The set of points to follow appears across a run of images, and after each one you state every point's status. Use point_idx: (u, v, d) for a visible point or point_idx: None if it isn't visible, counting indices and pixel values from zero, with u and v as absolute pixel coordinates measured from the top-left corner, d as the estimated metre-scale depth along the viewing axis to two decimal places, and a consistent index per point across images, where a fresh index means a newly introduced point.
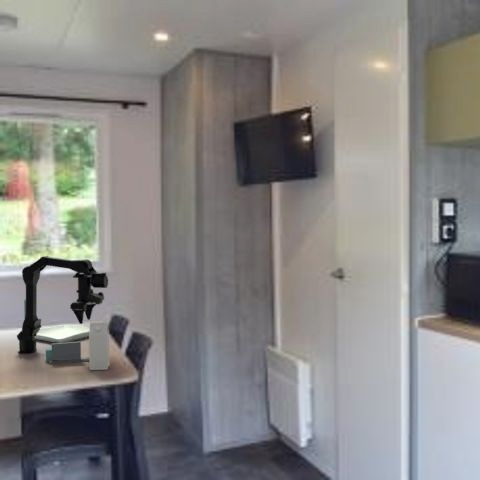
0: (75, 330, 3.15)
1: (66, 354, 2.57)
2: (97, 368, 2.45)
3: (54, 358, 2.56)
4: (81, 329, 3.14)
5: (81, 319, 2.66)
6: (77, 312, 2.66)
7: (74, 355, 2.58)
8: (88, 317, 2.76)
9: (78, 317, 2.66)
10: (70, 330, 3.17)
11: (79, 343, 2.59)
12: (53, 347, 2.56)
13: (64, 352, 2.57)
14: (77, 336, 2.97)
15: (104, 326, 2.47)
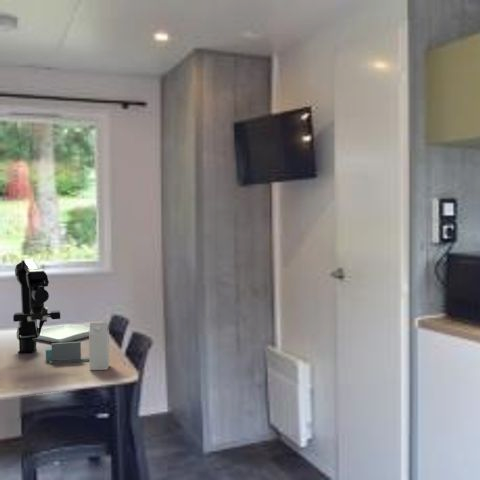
0: (75, 330, 3.15)
1: (66, 354, 2.57)
2: (97, 368, 2.45)
3: (54, 358, 2.56)
4: (81, 329, 3.14)
5: (34, 331, 2.53)
6: None
7: (74, 355, 2.58)
8: (38, 333, 2.54)
9: None
10: (70, 330, 3.17)
11: (79, 343, 2.59)
12: (53, 347, 2.56)
13: (64, 352, 2.57)
14: (77, 336, 2.97)
15: (104, 326, 2.47)
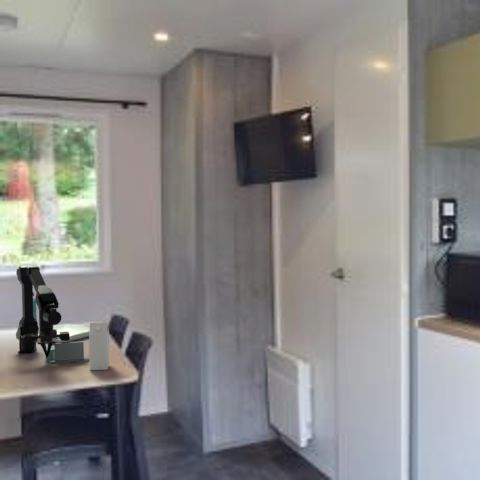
0: (75, 330, 3.15)
1: (69, 354, 2.58)
2: (97, 368, 2.45)
3: (57, 358, 2.56)
4: (81, 329, 3.14)
5: None
6: None
7: (77, 355, 2.59)
8: None
9: None
10: (70, 330, 3.17)
11: (82, 343, 2.59)
12: (56, 347, 2.56)
13: (67, 351, 2.58)
14: (77, 336, 2.97)
15: (104, 326, 2.47)
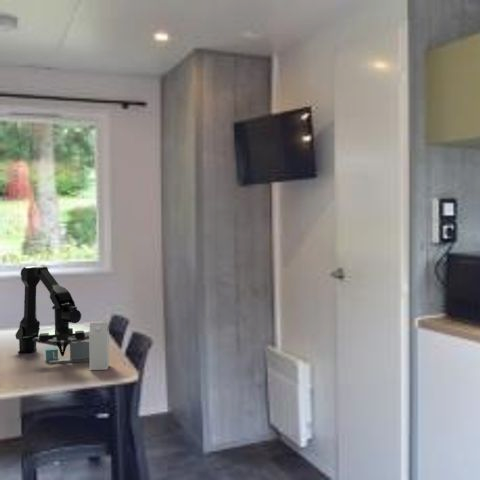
0: (75, 330, 3.15)
1: (84, 353, 2.60)
2: (97, 368, 2.45)
3: (72, 357, 2.58)
4: (81, 329, 3.14)
5: (60, 351, 2.57)
6: None
7: None
8: None
9: None
10: None
11: None
12: (72, 346, 2.58)
13: (82, 350, 2.59)
14: None
15: (104, 326, 2.47)
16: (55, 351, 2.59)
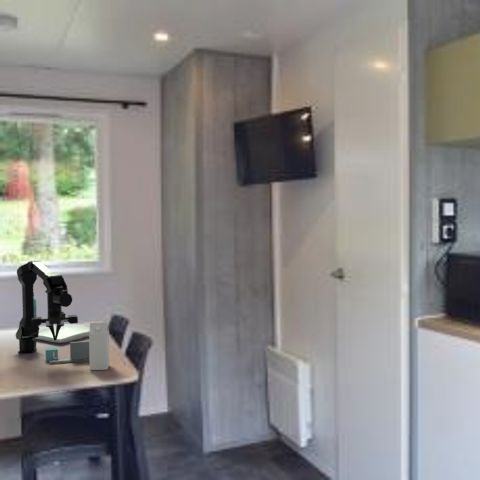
0: (75, 330, 3.15)
1: (84, 353, 2.60)
2: (97, 368, 2.45)
3: (73, 357, 2.58)
4: (81, 329, 3.14)
5: (53, 335, 2.55)
6: None
7: None
8: None
9: None
10: (70, 330, 3.17)
11: None
12: (72, 346, 2.58)
13: (83, 350, 2.59)
14: (77, 336, 2.97)
15: (104, 326, 2.47)
16: (55, 351, 2.59)
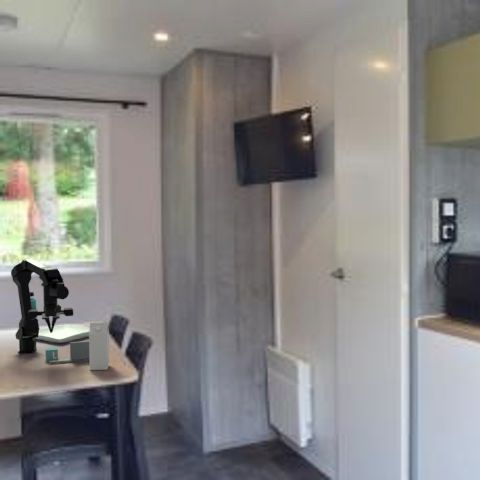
0: (75, 330, 3.15)
1: (84, 353, 2.60)
2: (97, 368, 2.45)
3: (73, 357, 2.58)
4: (81, 329, 3.14)
5: None
6: None
7: None
8: None
9: None
10: (70, 330, 3.17)
11: None
12: (72, 346, 2.58)
13: (83, 350, 2.59)
14: (77, 336, 2.97)
15: (104, 326, 2.47)
16: (55, 351, 2.59)
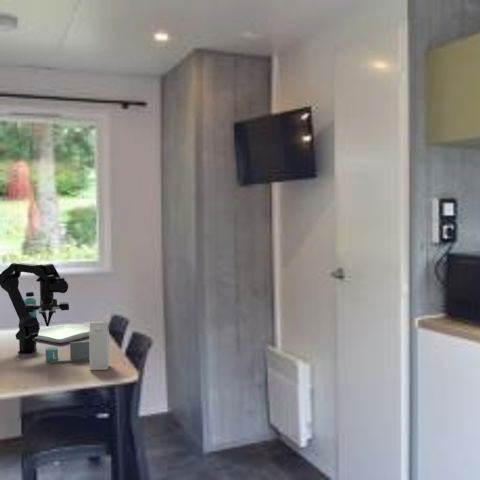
0: (75, 330, 3.15)
1: (84, 353, 2.60)
2: (97, 368, 2.45)
3: (73, 357, 2.58)
4: (81, 329, 3.14)
5: (45, 322, 2.68)
6: None
7: None
8: None
9: None
10: (70, 330, 3.17)
11: None
12: (72, 346, 2.58)
13: (83, 350, 2.59)
14: (77, 336, 2.97)
15: (104, 326, 2.47)
16: (55, 351, 2.59)
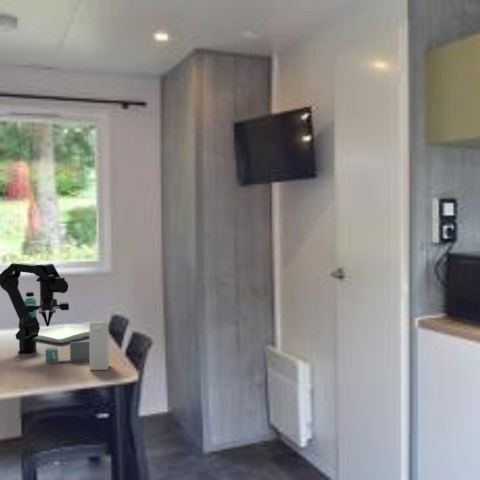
0: (75, 330, 3.15)
1: (84, 353, 2.60)
2: (97, 368, 2.45)
3: (73, 357, 2.58)
4: (81, 329, 3.14)
5: (45, 322, 2.68)
6: None
7: None
8: None
9: None
10: (70, 330, 3.17)
11: None
12: (72, 346, 2.58)
13: (83, 350, 2.59)
14: (77, 336, 2.97)
15: (104, 326, 2.47)
16: (55, 351, 2.59)
